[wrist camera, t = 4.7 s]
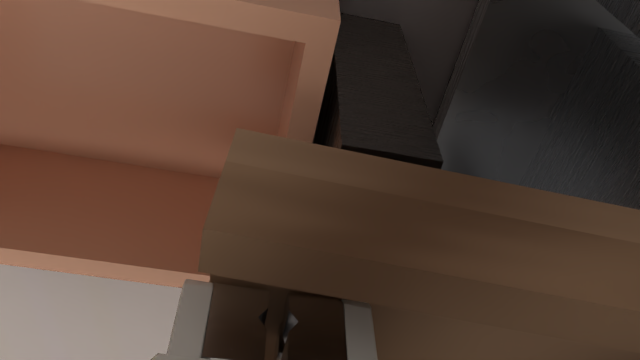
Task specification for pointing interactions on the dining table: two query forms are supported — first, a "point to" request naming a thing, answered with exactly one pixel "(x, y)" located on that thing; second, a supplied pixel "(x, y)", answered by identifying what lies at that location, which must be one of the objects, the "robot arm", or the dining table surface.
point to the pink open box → (142, 121)
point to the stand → (502, 98)
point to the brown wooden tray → (426, 253)
